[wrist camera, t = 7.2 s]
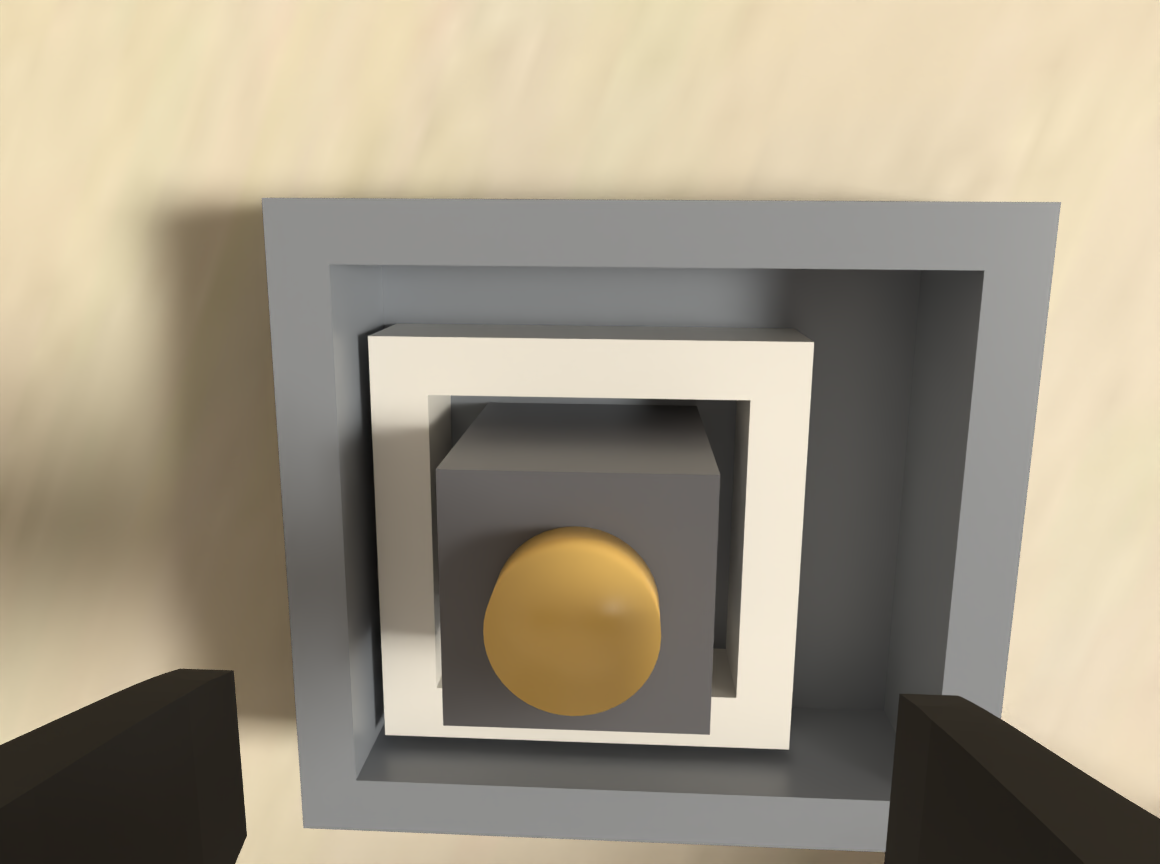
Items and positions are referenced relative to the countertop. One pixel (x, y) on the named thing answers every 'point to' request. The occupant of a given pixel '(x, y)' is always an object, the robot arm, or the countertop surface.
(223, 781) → the robot arm
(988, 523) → the box
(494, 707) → the plug
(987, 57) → the countertop surface
